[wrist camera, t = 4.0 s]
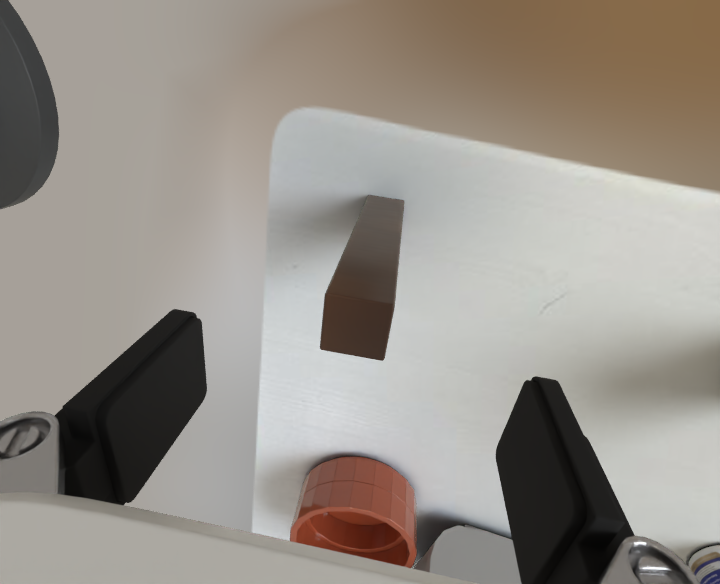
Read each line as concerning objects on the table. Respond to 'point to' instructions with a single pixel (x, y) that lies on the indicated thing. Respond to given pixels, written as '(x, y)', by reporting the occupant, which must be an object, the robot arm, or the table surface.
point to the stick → (365, 283)
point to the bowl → (358, 511)
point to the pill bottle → (706, 565)
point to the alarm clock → (472, 556)
